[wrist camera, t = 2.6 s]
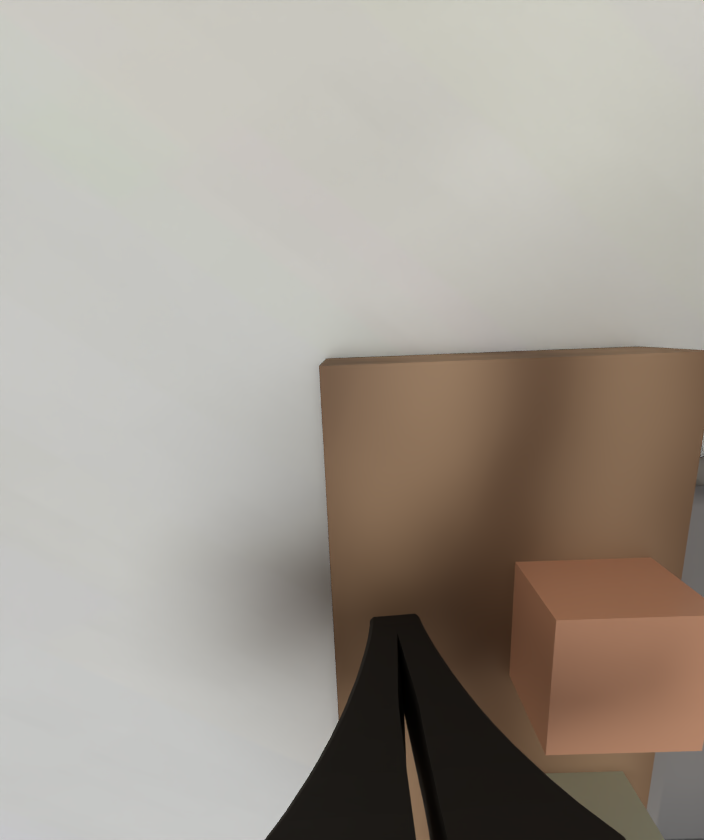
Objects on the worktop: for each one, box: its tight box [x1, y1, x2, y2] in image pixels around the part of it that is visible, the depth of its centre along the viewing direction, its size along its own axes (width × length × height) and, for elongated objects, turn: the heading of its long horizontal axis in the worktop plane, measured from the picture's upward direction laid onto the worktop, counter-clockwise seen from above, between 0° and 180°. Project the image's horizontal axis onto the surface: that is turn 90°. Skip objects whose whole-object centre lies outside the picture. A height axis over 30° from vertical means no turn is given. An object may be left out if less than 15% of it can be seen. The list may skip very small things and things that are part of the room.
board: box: [319, 347, 704, 840], centre depth 15 cm, size 10×24×3 cm, turn 2°
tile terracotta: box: [509, 557, 704, 755], centre depth 11 cm, size 4×4×2 cm
